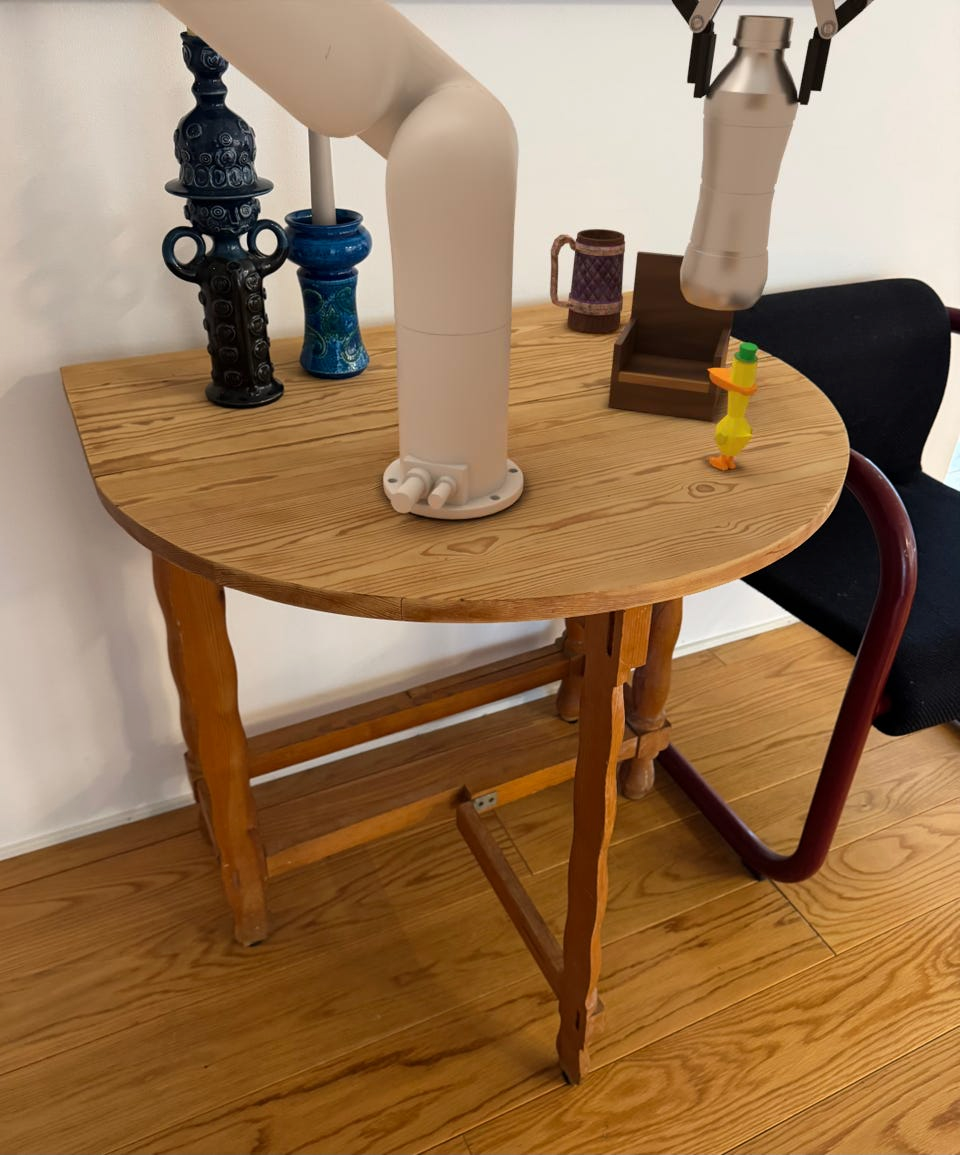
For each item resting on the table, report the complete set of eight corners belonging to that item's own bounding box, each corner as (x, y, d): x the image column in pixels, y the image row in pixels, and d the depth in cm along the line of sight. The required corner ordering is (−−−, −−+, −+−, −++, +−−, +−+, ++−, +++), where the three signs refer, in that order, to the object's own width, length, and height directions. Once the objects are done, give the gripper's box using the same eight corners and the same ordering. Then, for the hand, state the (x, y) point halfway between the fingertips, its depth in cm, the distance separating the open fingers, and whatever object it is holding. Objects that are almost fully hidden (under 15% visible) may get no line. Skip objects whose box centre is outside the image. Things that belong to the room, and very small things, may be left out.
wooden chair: (711, 421, 99) (733, 286, 91) (608, 407, 102) (620, 275, 94) (721, 387, 107) (742, 260, 99) (625, 375, 110) (638, 251, 102)
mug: (606, 315, 128) (614, 223, 122) (629, 332, 122) (639, 236, 116) (536, 322, 125) (540, 228, 119) (556, 339, 120) (562, 241, 113)
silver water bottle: (769, 322, 73) (829, 21, 62) (680, 318, 73) (725, 17, 62) (751, 297, 78) (804, 16, 67) (669, 293, 78) (709, 12, 67)
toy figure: (683, 454, 92) (701, 333, 86) (712, 447, 94) (731, 327, 87) (731, 482, 87) (754, 357, 81) (760, 474, 89) (784, 350, 82)
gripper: (652, -235, 57) (620, 97, 67) (963, -243, 53) (880, 114, 62) (672, -216, 63) (640, 87, 73) (952, -221, 59) (878, 101, 68)
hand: (751, 97), depth 67 cm, fingers closed on silver water bottle, 6 cm apart
